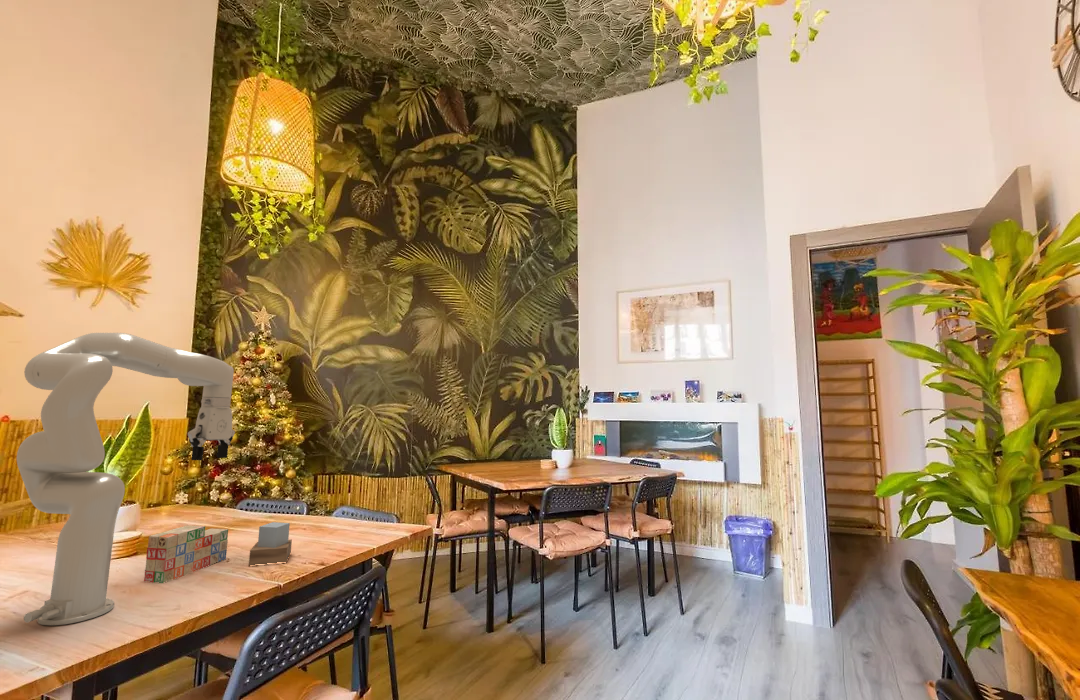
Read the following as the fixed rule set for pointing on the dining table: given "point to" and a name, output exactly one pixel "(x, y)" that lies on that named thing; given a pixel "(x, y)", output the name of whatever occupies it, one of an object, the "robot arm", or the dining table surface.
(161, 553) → the stack of blocks
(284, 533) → the grey cube
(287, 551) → the walnut block
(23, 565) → the dining table surface
